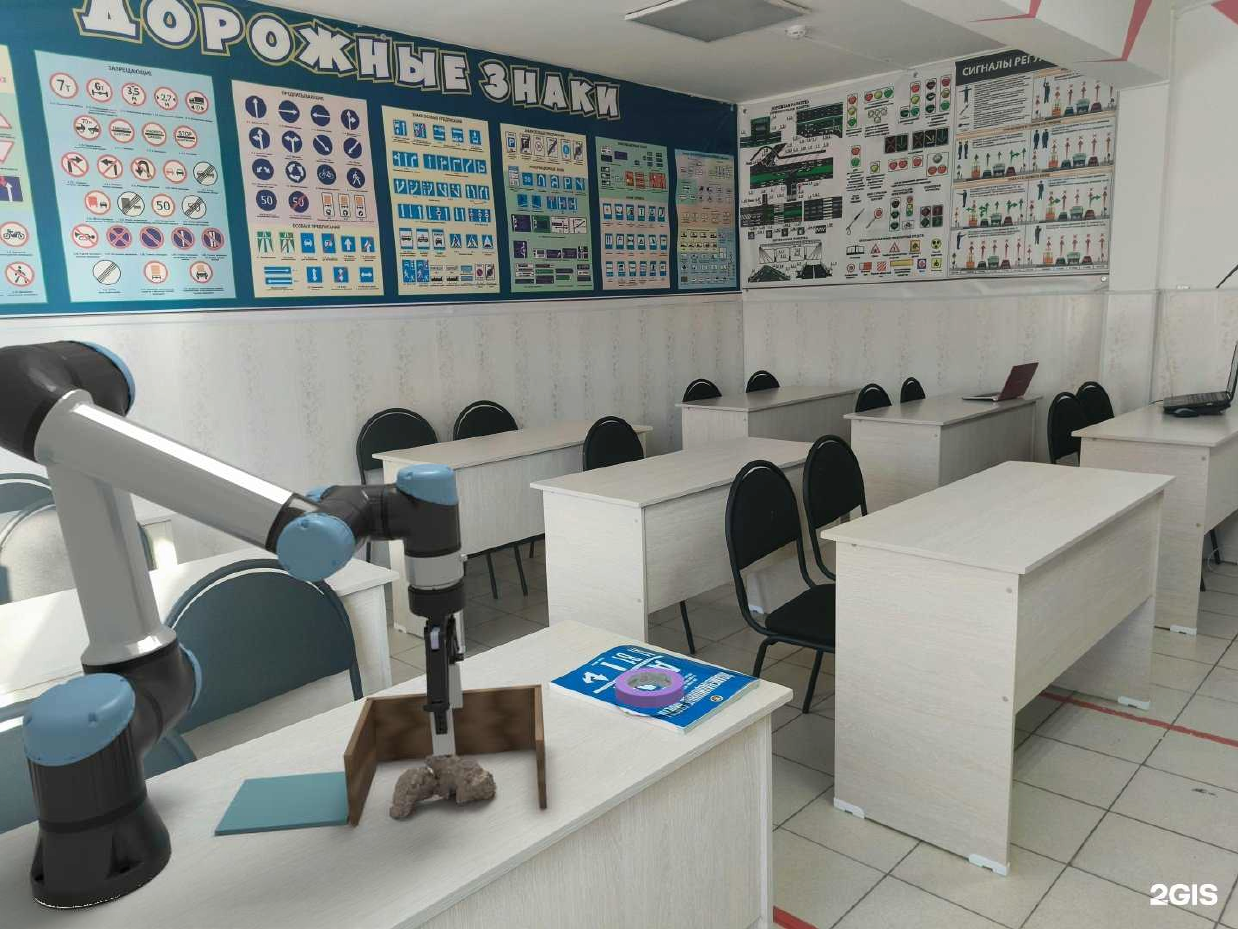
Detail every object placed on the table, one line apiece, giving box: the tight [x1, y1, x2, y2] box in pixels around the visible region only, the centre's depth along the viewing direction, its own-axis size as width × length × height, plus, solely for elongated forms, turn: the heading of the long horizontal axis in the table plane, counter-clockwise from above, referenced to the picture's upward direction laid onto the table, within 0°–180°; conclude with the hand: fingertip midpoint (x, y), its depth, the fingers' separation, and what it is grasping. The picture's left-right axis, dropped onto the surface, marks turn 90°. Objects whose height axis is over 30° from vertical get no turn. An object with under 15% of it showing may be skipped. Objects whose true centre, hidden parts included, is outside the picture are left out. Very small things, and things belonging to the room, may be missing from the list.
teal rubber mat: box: [214, 770, 350, 835], centre depth 126 cm, size 17×13×1 cm
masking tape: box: [614, 667, 685, 708], centre depth 153 cm, size 12×12×4 cm
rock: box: [389, 753, 498, 819], centre depth 124 cm, size 6×14×7 cm, turn 100°
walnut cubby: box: [342, 683, 548, 826], centre depth 128 cm, size 26×18×10 cm
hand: (449, 729), depth 124 cm, fingers open, 13 cm apart
